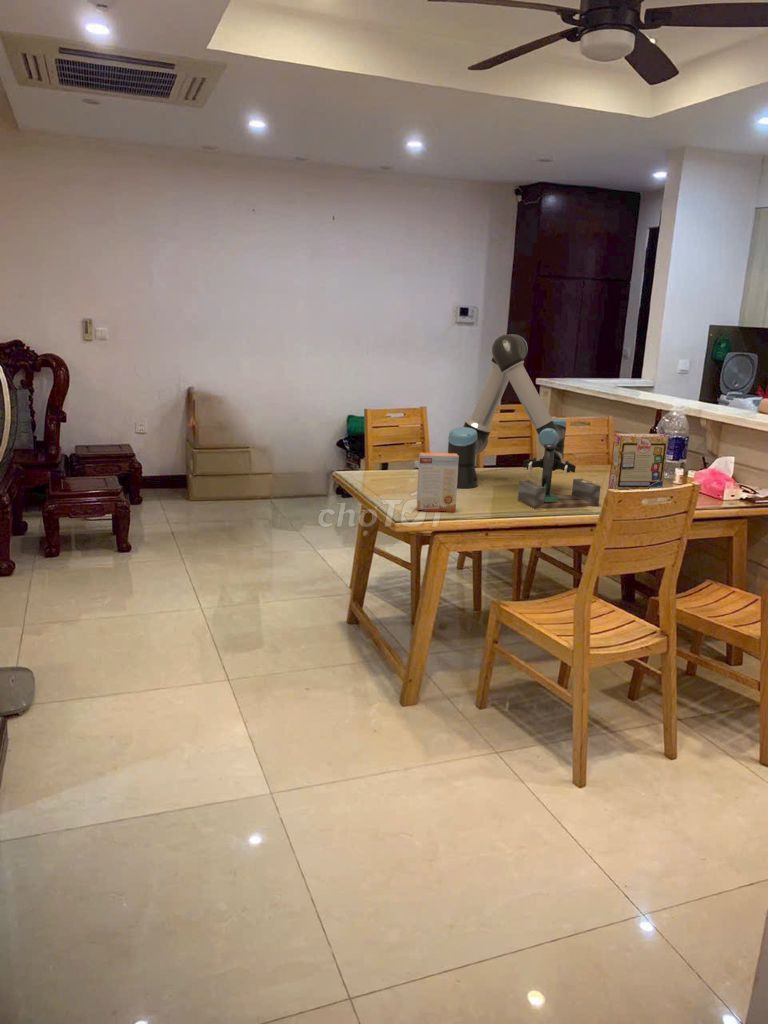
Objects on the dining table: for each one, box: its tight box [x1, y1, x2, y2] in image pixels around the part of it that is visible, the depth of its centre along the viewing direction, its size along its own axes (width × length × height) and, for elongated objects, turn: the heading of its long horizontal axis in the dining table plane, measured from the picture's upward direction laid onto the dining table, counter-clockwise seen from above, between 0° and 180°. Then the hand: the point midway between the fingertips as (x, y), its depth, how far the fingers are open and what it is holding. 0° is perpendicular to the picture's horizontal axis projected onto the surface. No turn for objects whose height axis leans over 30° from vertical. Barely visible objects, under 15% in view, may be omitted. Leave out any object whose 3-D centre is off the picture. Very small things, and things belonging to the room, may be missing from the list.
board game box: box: [607, 433, 670, 490], centre depth 301 cm, size 20×6×27 cm, turn 98°
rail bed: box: [517, 478, 601, 510], centre depth 294 cm, size 28×13×8 cm, turn 108°
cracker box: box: [416, 452, 459, 513], centre depth 275 cm, size 14×6×21 cm, turn 92°
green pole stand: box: [540, 444, 559, 502], centre depth 290 cm, size 6×10×21 cm, turn 18°
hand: (547, 470), depth 287 cm, fingers open, 13 cm apart
